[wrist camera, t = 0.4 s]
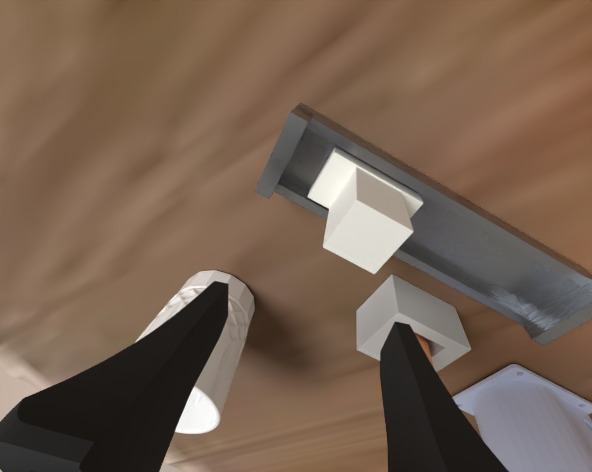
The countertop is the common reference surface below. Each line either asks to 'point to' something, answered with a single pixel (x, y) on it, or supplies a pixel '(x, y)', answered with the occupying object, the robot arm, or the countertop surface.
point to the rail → (443, 232)
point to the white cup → (225, 357)
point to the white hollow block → (410, 321)
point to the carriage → (363, 210)
